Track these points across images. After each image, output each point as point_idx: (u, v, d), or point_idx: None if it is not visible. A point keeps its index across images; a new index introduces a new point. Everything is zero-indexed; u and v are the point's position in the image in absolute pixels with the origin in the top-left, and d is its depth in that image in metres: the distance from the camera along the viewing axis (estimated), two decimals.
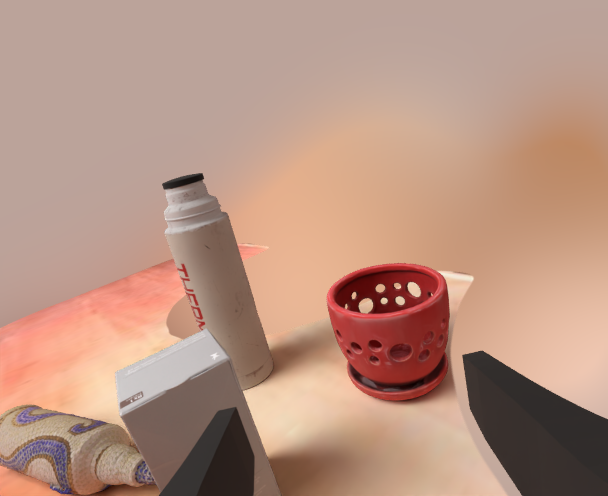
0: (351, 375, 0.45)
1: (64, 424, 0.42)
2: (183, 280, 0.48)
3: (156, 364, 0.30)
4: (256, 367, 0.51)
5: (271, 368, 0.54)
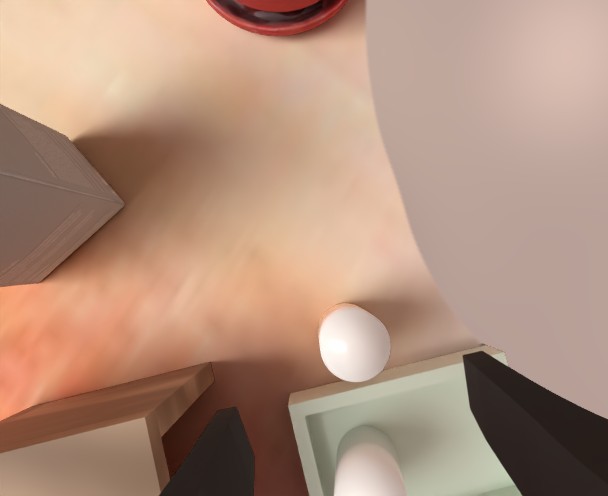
0: None
1: None
2: None
3: None
4: None
5: None
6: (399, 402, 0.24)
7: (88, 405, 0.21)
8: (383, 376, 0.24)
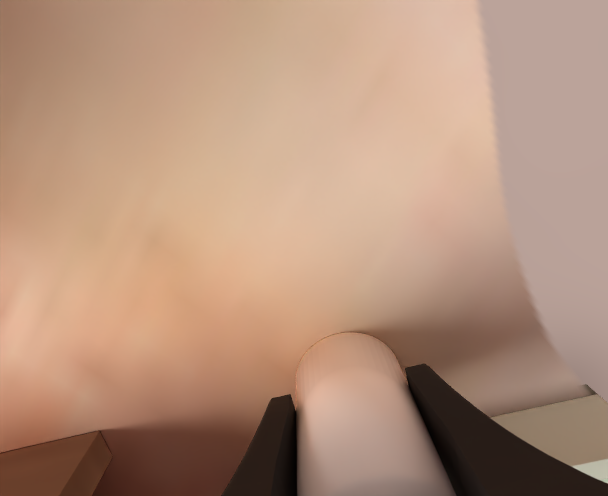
0: None
1: None
2: None
3: None
4: None
5: None
6: None
7: None
8: None
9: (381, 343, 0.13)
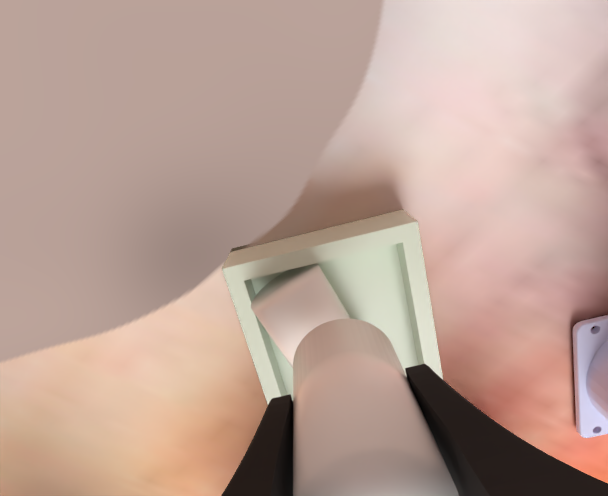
0: None
1: None
2: None
3: None
4: None
5: None
6: None
7: None
8: None
9: (372, 326, 0.13)
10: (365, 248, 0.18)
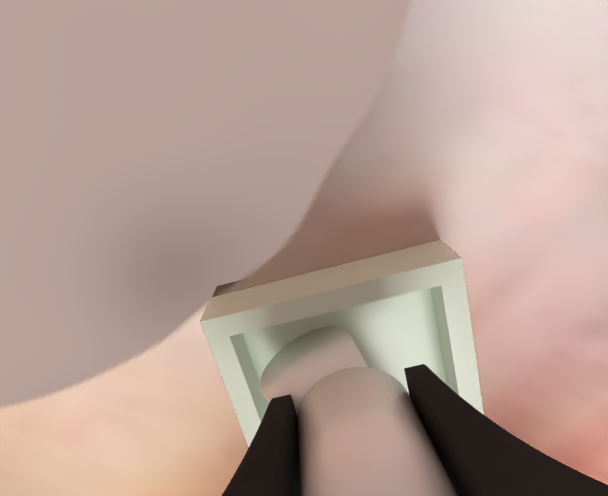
0: None
1: None
2: None
3: None
4: None
5: None
6: None
7: None
8: None
9: (386, 375, 0.12)
10: (391, 294, 0.13)
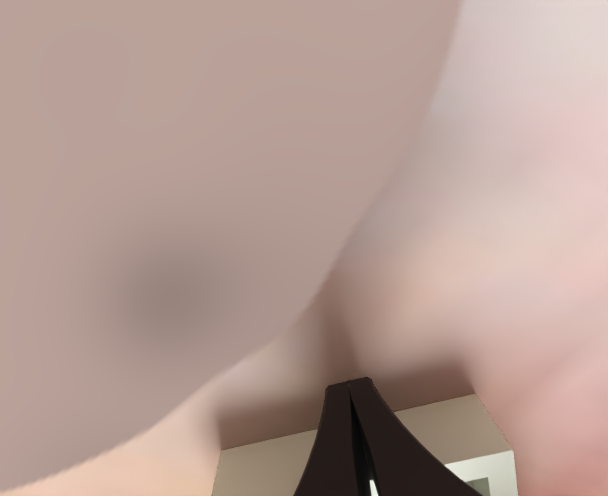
0: None
1: None
2: None
3: None
4: None
5: None
6: None
7: None
8: None
9: None
10: None
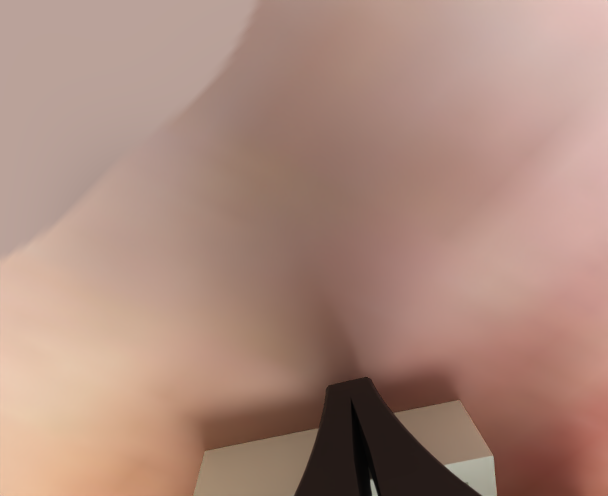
0: None
1: None
2: None
3: None
4: None
5: None
6: None
7: None
8: None
9: None
10: None
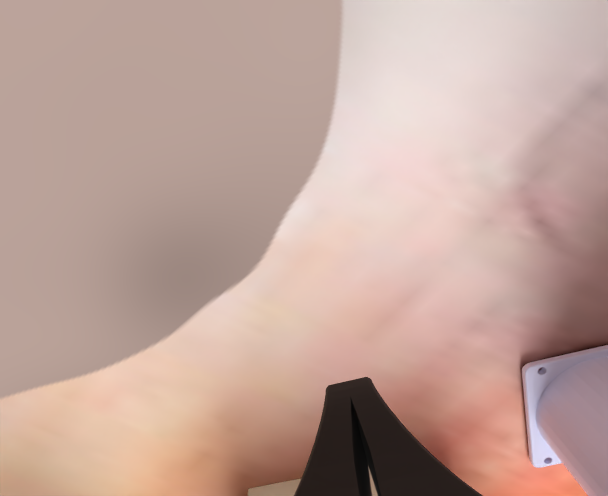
0: None
1: None
2: None
3: None
4: None
5: None
6: None
7: None
8: None
9: None
10: None
